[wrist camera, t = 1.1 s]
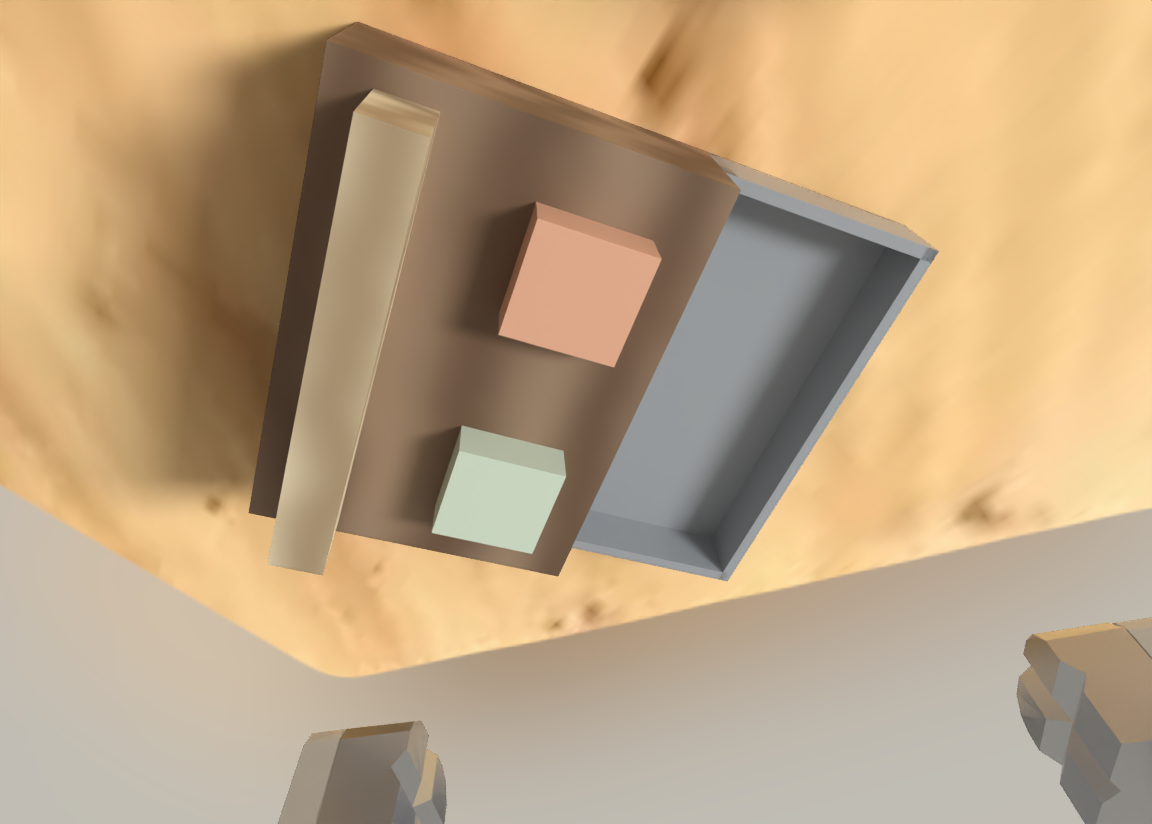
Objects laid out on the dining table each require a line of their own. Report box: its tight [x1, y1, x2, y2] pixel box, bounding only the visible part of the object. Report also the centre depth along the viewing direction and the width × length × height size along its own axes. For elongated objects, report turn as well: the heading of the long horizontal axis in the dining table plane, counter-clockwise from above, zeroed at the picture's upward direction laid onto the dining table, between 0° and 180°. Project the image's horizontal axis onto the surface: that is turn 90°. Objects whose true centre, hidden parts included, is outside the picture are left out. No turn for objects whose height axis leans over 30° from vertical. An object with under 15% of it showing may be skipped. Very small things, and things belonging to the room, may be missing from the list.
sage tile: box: [432, 426, 566, 554], centre depth 35 cm, size 5×5×2 cm
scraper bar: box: [267, 89, 440, 575], centre depth 30 cm, size 2×20×4 cm, turn 160°
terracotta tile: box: [498, 202, 662, 367], centre depth 30 cm, size 5×5×2 cm
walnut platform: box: [249, 22, 741, 576], centre depth 35 cm, size 16×22×6 cm
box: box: [572, 152, 939, 581], centre depth 39 cm, size 11×22×4 cm, turn 160°
